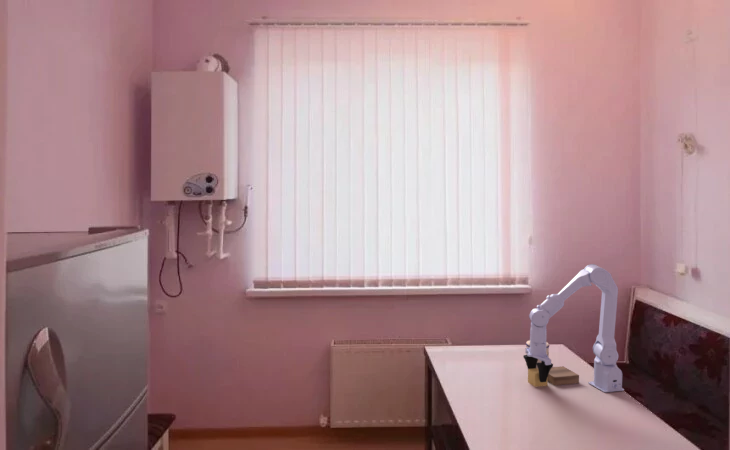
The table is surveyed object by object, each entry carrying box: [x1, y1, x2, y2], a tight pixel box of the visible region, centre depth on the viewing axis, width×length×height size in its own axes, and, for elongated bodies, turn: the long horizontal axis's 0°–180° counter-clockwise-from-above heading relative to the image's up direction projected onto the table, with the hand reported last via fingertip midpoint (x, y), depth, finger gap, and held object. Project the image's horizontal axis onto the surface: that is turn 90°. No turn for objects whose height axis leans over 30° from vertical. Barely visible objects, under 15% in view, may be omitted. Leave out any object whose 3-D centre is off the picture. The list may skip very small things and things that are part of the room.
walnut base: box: [547, 366, 580, 386], centre depth 200 cm, size 10×10×3 cm
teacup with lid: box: [525, 339, 550, 368], centre depth 218 cm, size 12×9×12 cm
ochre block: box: [527, 368, 548, 388], centre depth 196 cm, size 5×5×5 cm
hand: (537, 378), depth 196 cm, fingers open, 7 cm apart
